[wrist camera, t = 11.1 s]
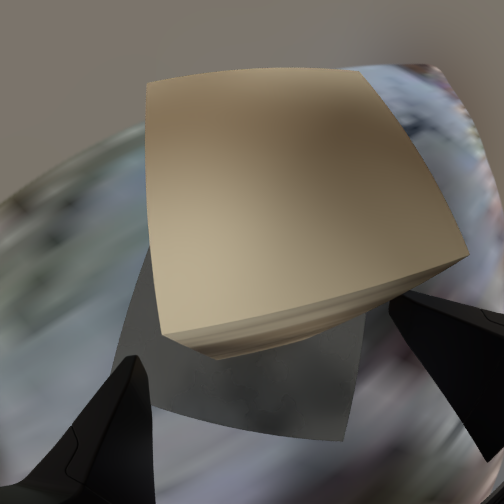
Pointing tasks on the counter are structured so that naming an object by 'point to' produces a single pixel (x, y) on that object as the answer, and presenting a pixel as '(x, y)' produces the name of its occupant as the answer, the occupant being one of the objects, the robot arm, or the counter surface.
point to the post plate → (247, 375)
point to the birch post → (283, 206)
